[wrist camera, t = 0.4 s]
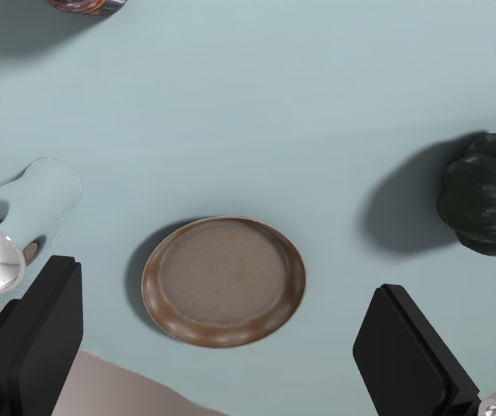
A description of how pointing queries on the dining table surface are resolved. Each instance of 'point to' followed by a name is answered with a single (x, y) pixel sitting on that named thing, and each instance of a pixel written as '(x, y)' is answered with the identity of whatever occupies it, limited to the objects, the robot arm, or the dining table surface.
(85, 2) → the supplement bottle
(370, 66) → the dining table surface
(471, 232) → the squash
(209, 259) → the plant saucer
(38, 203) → the beer glass
